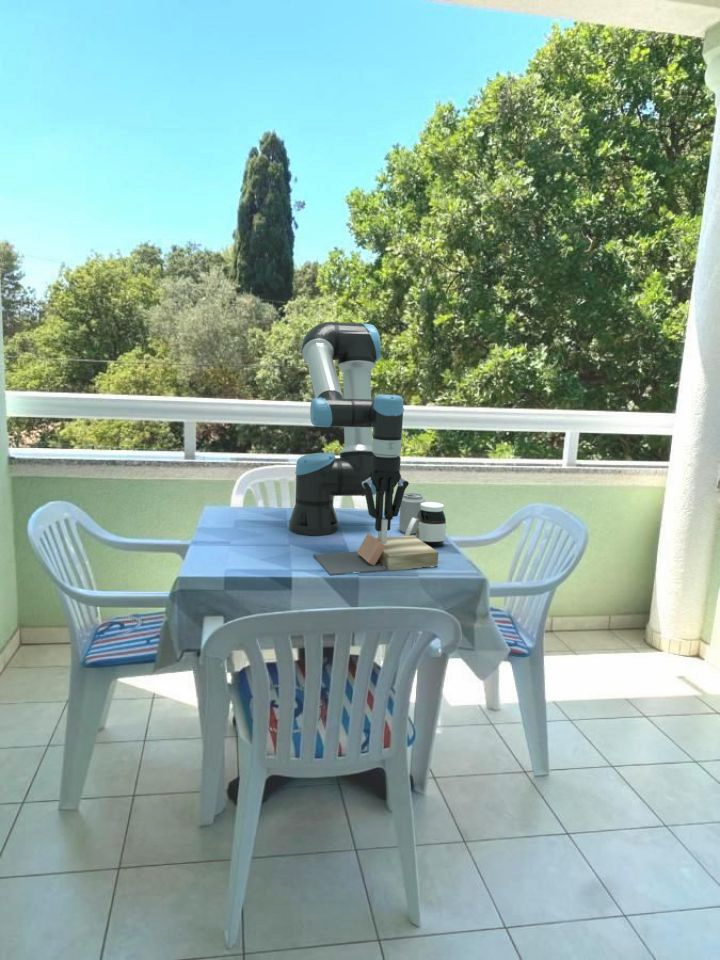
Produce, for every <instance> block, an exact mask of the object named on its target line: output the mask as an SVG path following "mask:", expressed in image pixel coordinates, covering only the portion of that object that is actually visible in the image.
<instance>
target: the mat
mask: <svg viewBox="0 0 720 960" xmlns="http://www.w3.org/2000/svg"><path fill="white" fill-rule="evenodd" d="M312 556H313V558H314V559H315V560H316V561H317V562H318V563H319V564H320V565H321V567H322V568H323V569H324V570H325V571H326V573H328V574H329V575H330V576H339V575H338V574H342V575H347V574H346V573H353V572H367V573H376V571H379V572H387V571H388V570H387V569H386V568H384V567H383V566H382V565H381V564H380V563H379V562H376V564H375V566H374V565H372V564H370V563H368V562H367V561H366V560H365V559H364V558H363V557H362V556H360V555H359V554H358V553H357V551H345V552H344V551H343V552H331V553H329V552H328V553H317V554H316V553H314V554H313V555H312Z"/></svg>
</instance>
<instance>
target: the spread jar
mask: <svg viewBox="0 0 720 960" xmlns="http://www.w3.org/2000/svg"><path fill="white" fill-rule="evenodd" d="M420 509H421V510H420V511H419V512H418V514H417V519H415V518H412V519H411V521H410V523H409V526H408V528H407V530H406V533H404V534H403V536H412V534H411V533H412V531H413V528H414V526H415V524H416V521H417V524H416V534H415V537H416V538H418V539H419V540H421V541H422V542H424V543H425V544H427V545H428V546H430V547H439V546H441V545H443V544H444V542H445V538H446V528H447V519H446V515H445V512H444V510H445V505H444V504H443V503H441V502H435V501H425V502H423V503H421V506H420ZM438 545H439V546H438Z"/></svg>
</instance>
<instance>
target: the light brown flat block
mask: <svg viewBox="0 0 720 960" xmlns="http://www.w3.org/2000/svg"><path fill="white" fill-rule="evenodd" d="M365 535H366V536H365V537H364V539H363V541H362V542H361V543H360V545H359V548H358V550H357V551H356V552H357V553H358V554H359V555H360V556H362V557H363V558H364V559H365V560H366V561H367V562H368V563H370V564H372V565H374V566H375V564H376V562H377V561H378V559H379V557H380V555H381V554H382V552H383V550H384V548H385V547H386V545H384V544H383V543H382V542H380V541H379V540H378V539H377V538H378V537H375V536H374V535H372V534H370V533H367V534H365Z"/></svg>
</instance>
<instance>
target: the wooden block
mask: <svg viewBox="0 0 720 960" xmlns="http://www.w3.org/2000/svg"><path fill="white" fill-rule="evenodd" d="M376 538H377V539H378V537H376ZM384 545H386V547H385V548H384V550H383V552H382V554H381V555H380V557H379V559H378V561H377V562H378V563H380V564H381V565H382V566H384V567H385V569H387V570H386V571H388V572H390V571H389V570H392V571H402V570H403V571H404V570H413V569H412V568H417V569H423V568H422V567H429V568H432V567H431V566H439V565H438V564H439V551H438V550H436V549H434V548H433V547H432V546H428V545H427V544H425V543H424V542H422V541H421V540H419V539H418V538H416V535H410V536H404V535H403V536H401V535H400V536H387V544H384Z"/></svg>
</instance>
